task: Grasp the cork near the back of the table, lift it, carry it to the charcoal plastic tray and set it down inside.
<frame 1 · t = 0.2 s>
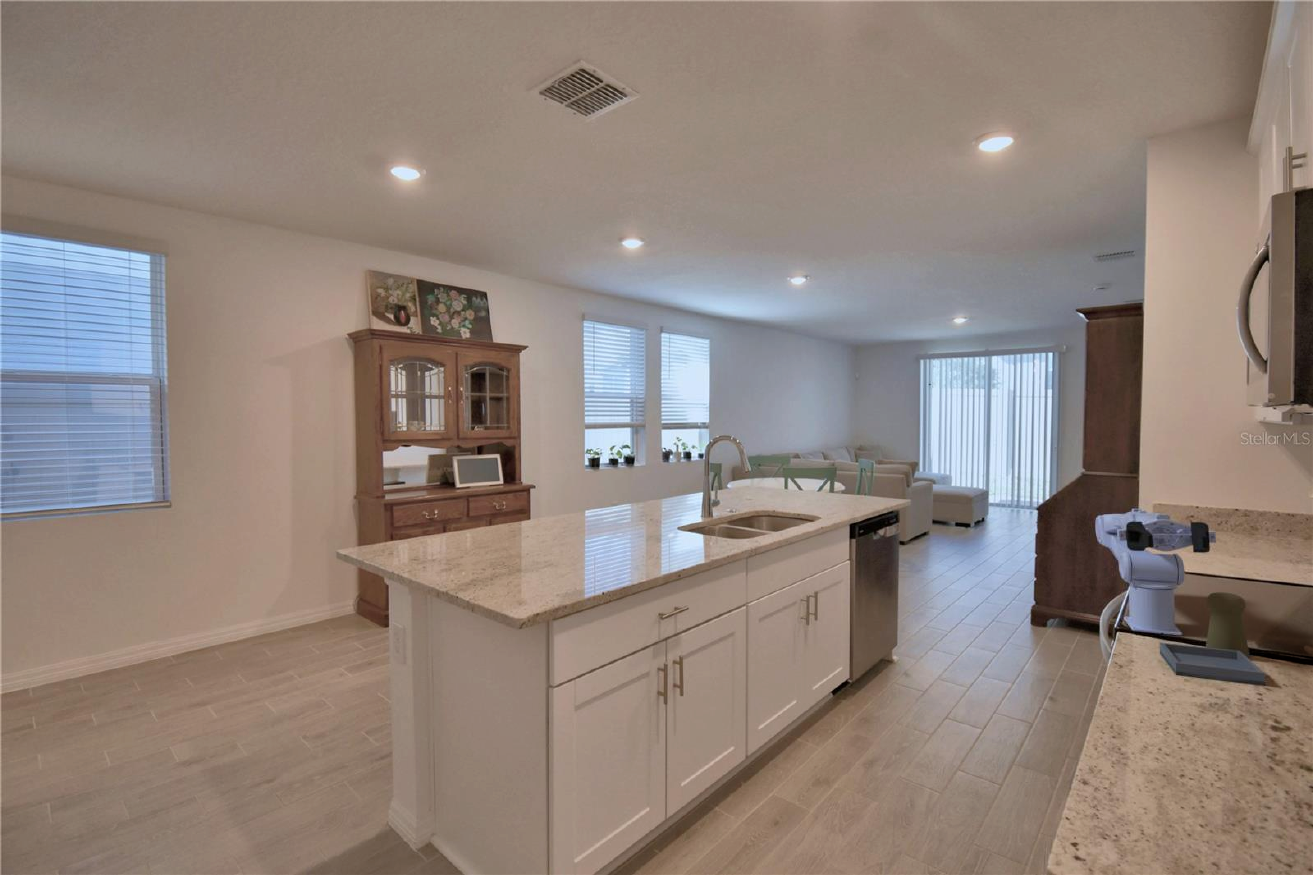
hand: (1177, 541, 111), 21 cm above the countertop, tool horizontal, fingers open, 7 cm apart
tray: (1208, 668, 106), on the countertop
cork: (1227, 655, 113), on the countertop
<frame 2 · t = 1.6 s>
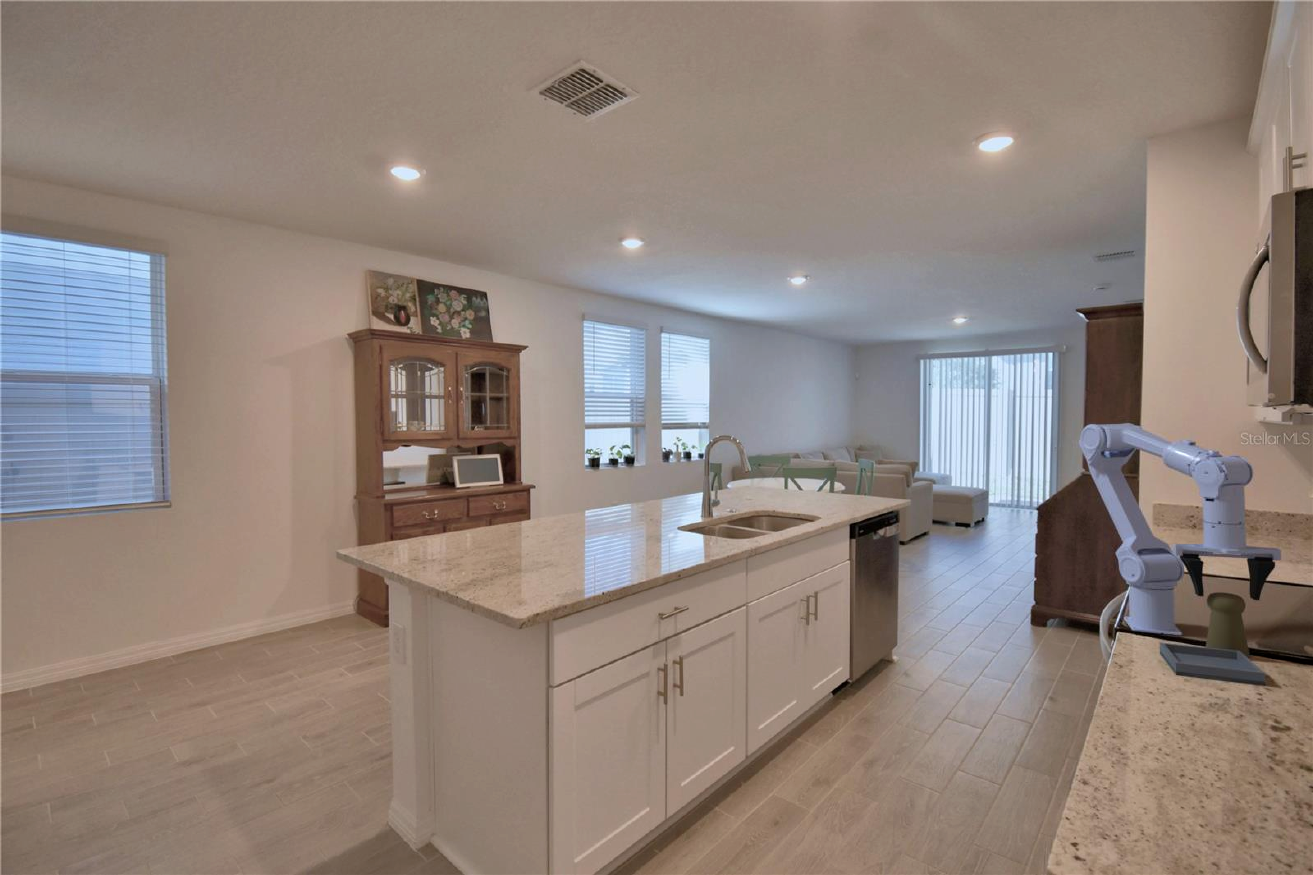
hand: (1226, 597, 113), 10 cm above the countertop, tool pointing down, fingers open, 7 cm apart
nothing on the countertop moved.
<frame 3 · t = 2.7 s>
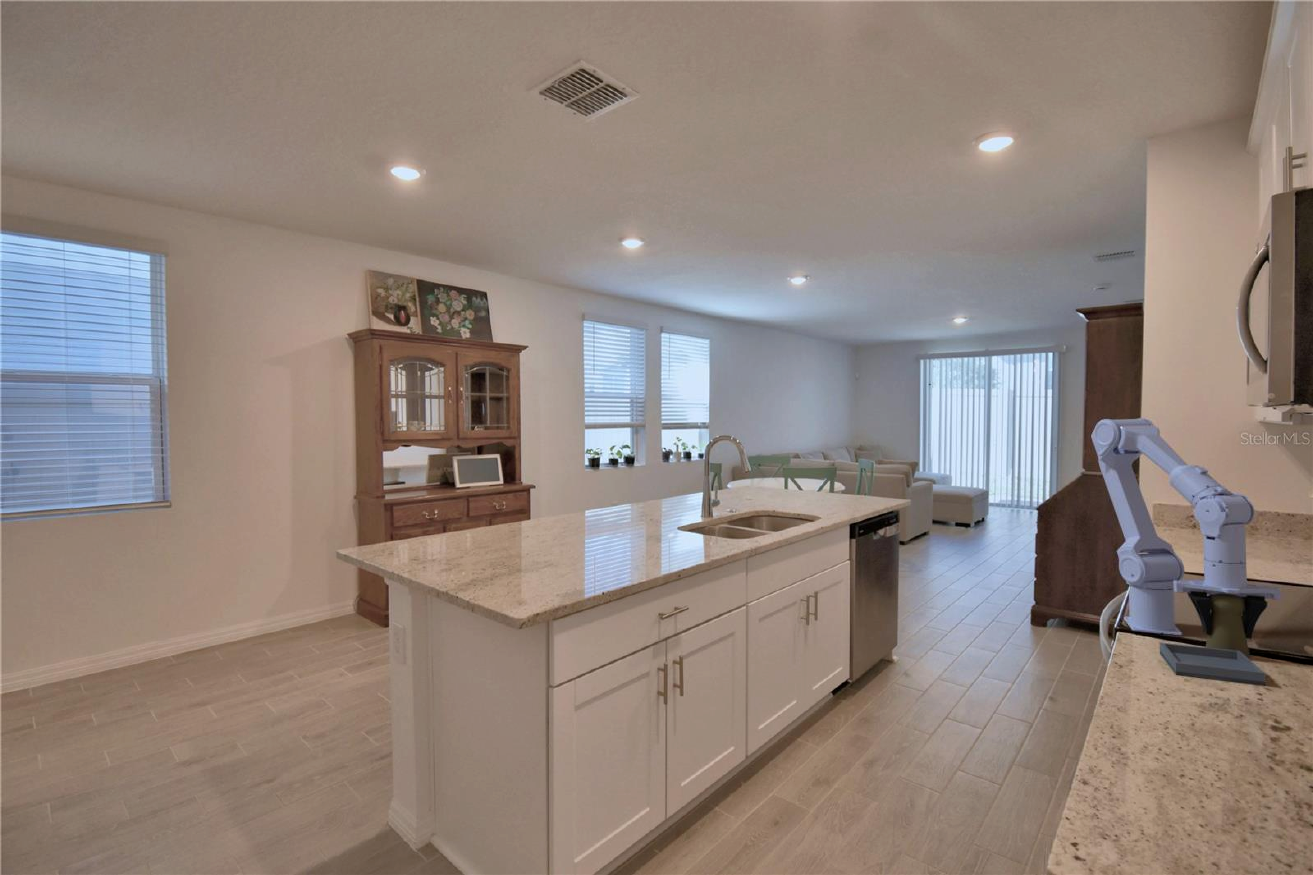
hand: (1226, 635, 113), 3 cm above the countertop, tool pointing down, fingers closed on cork, 5 cm apart
cork: (1227, 654, 113), on the countertop, touching gripper
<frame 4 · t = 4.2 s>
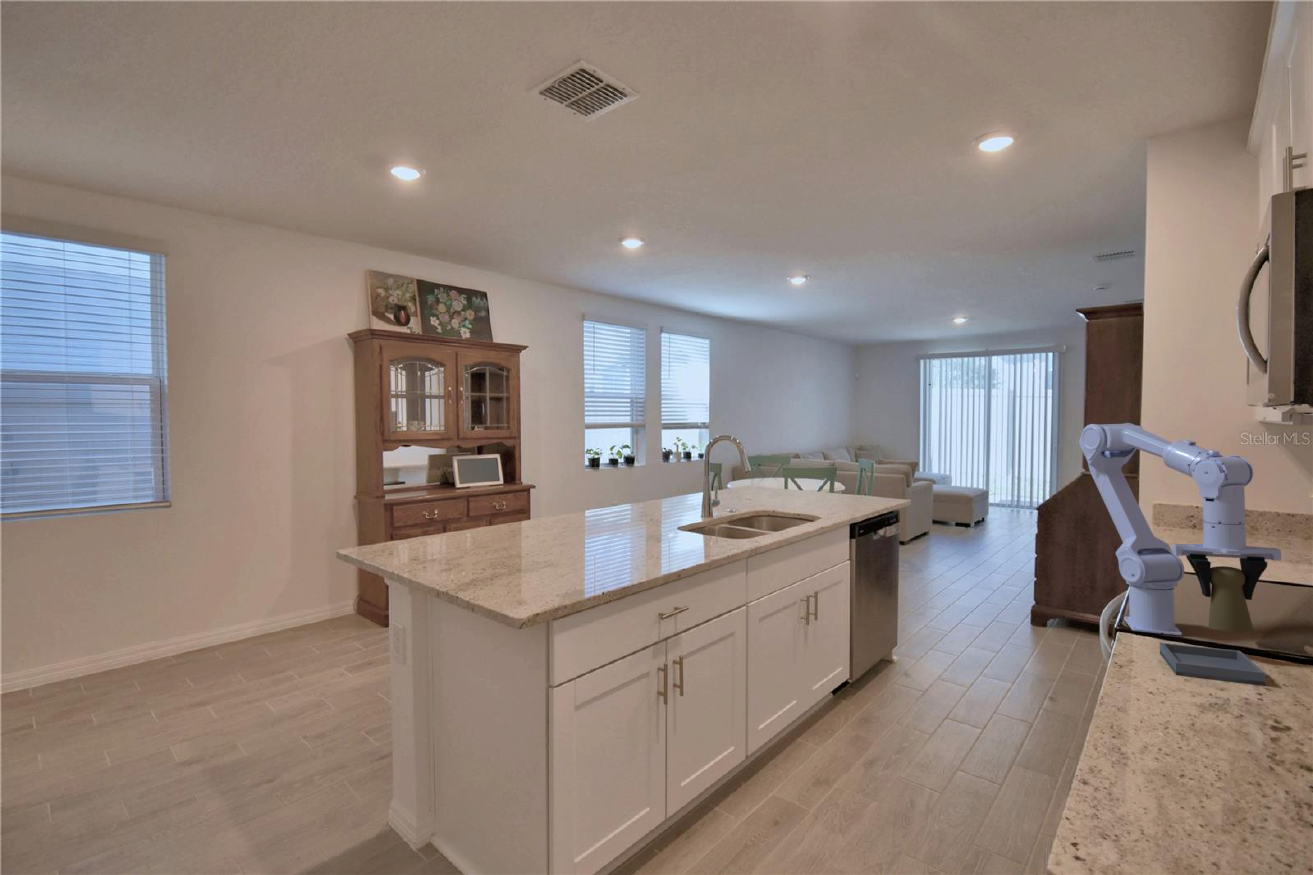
hand: (1226, 597, 113), 10 cm above the countertop, tool pointing down, fingers closed on cork, 5 cm apart
cork: (1230, 629, 112), point 5 cm above the countertop, touching gripper
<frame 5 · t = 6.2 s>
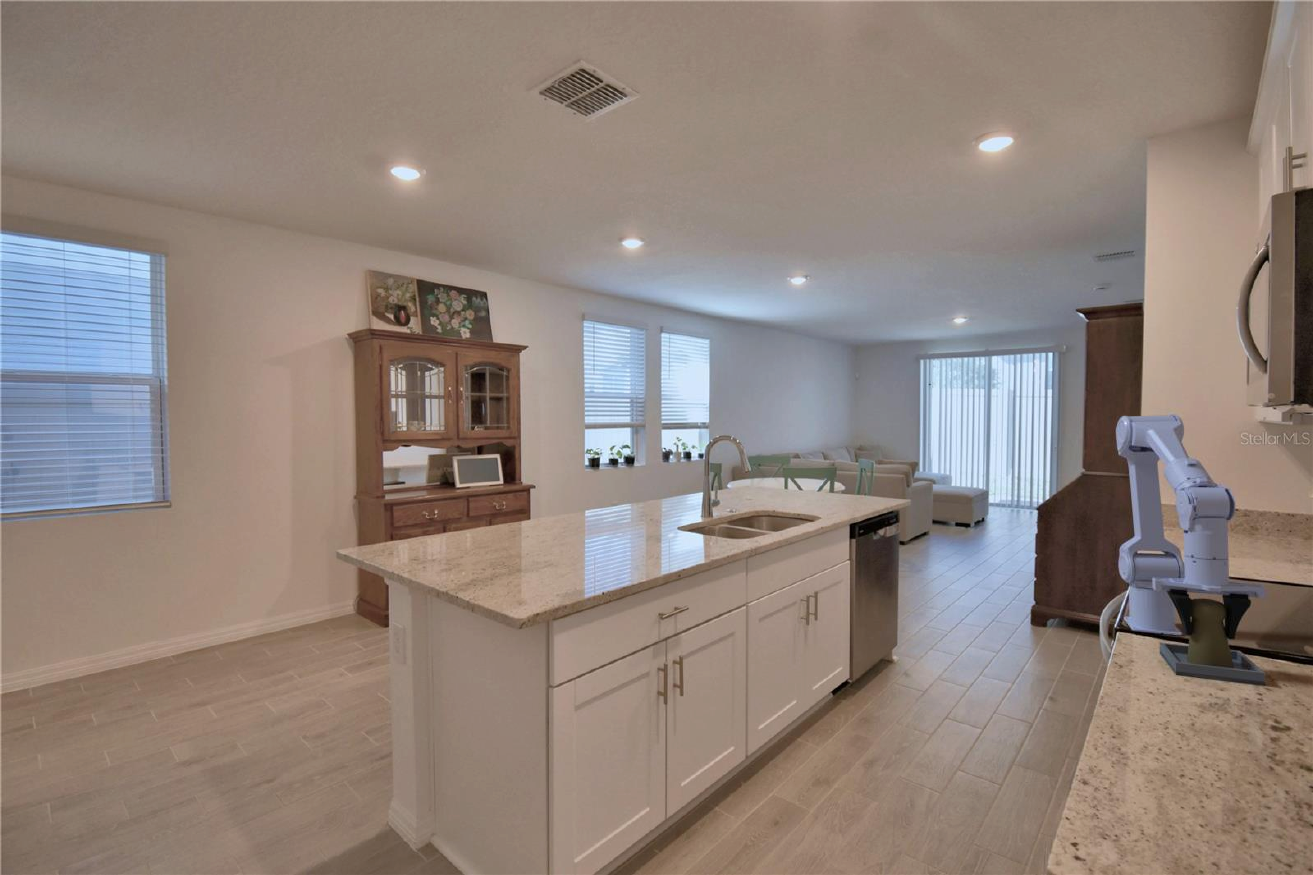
hand: (1208, 635, 106), 6 cm above the countertop, tool pointing down, fingers closed on cork, 5 cm apart
cork: (1210, 664, 107), resting on tray, touching gripper
when the fingers open (6 cm above the countertop, at t = 6.3 s): cork stays where it is, resting on tray.
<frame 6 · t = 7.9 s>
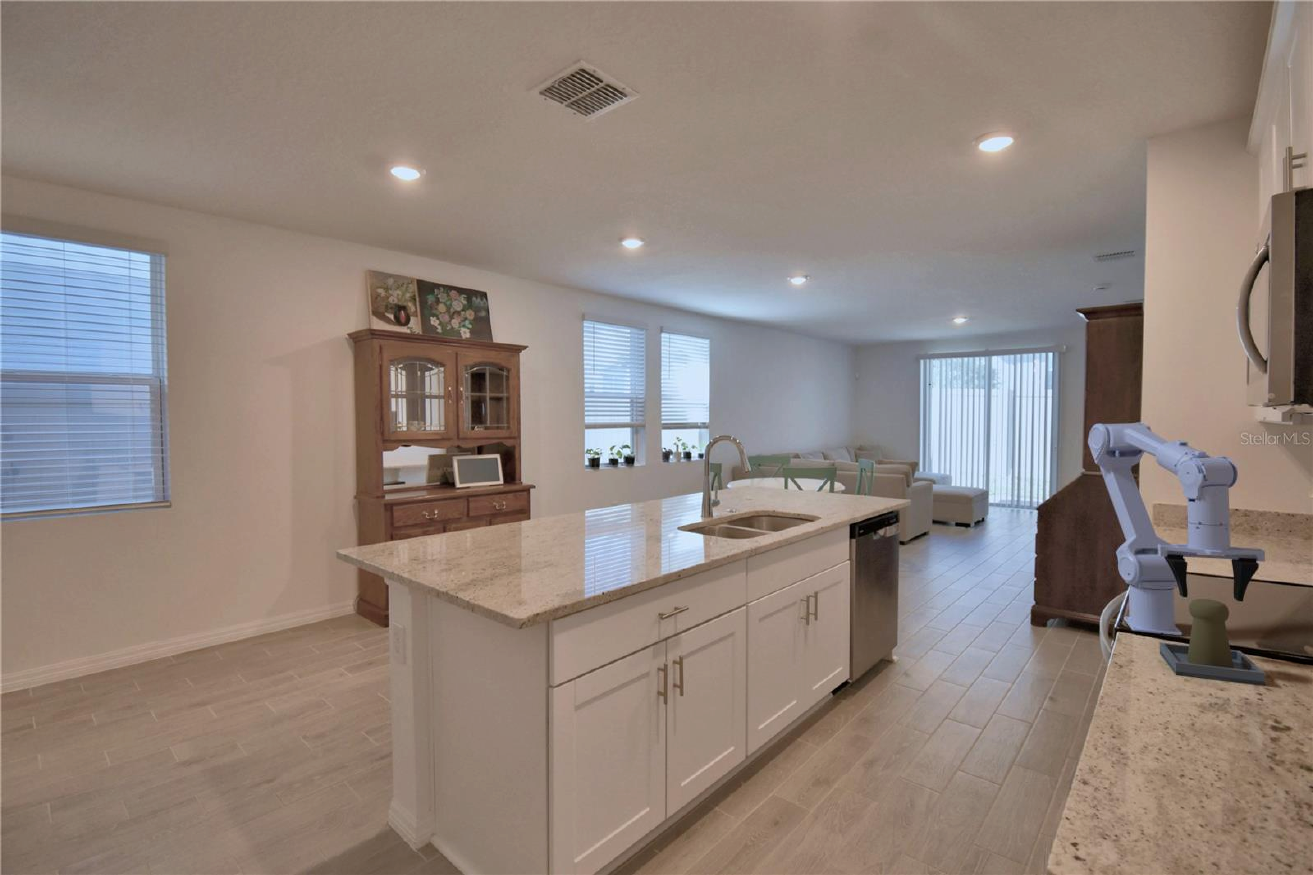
hand: (1210, 598, 113), 10 cm above the countertop, tool pointing down, fingers open, 7 cm apart
cork: (1210, 665, 107), resting on tray
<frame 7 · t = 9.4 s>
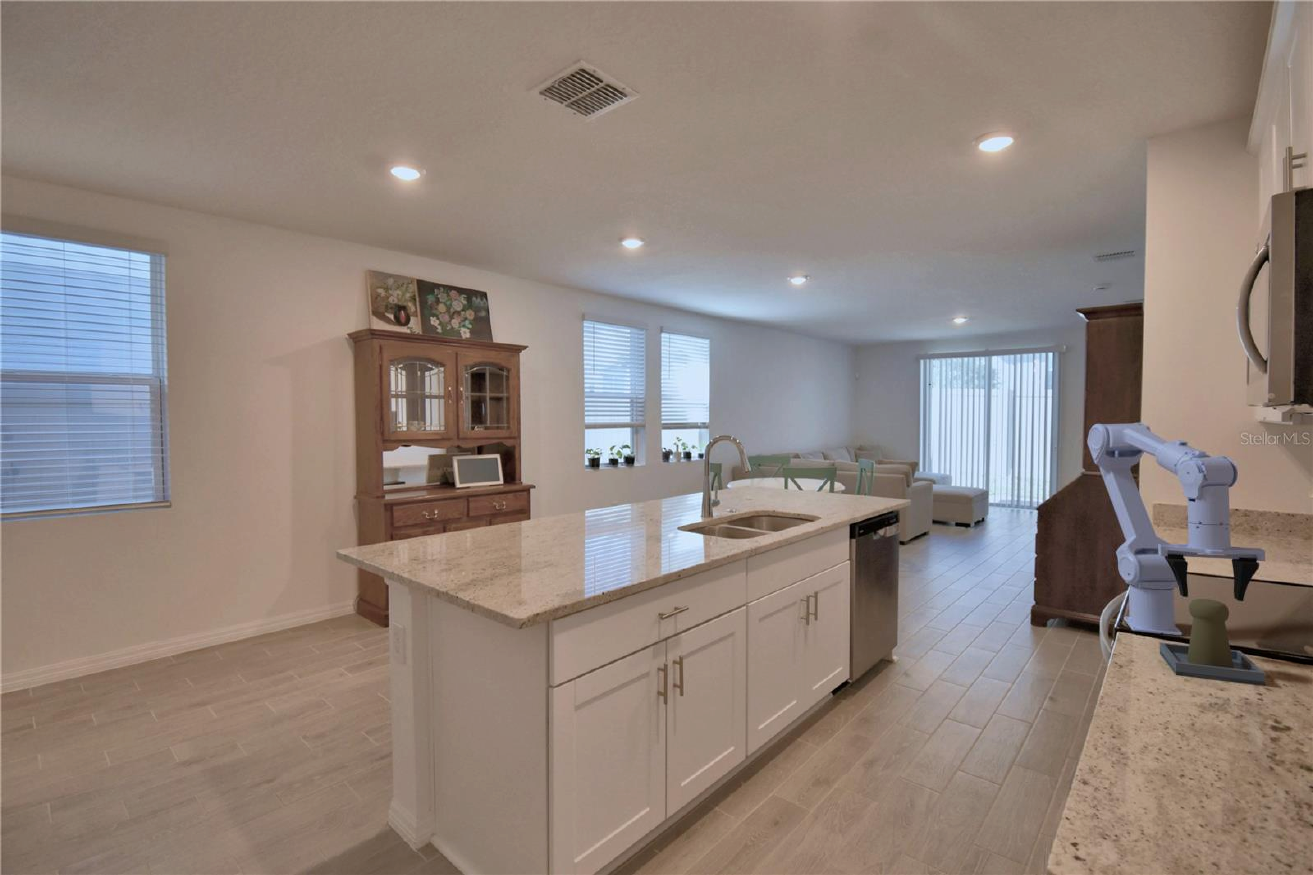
hand: (1211, 597, 113), 10 cm above the countertop, tool pointing down, fingers open, 7 cm apart
nothing on the countertop moved.
at the end: cork 0.6 cm off-centre on the tray, point 0.4 cm above the tray's base; cork tilted 0°; the gripper is holding nothing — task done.
